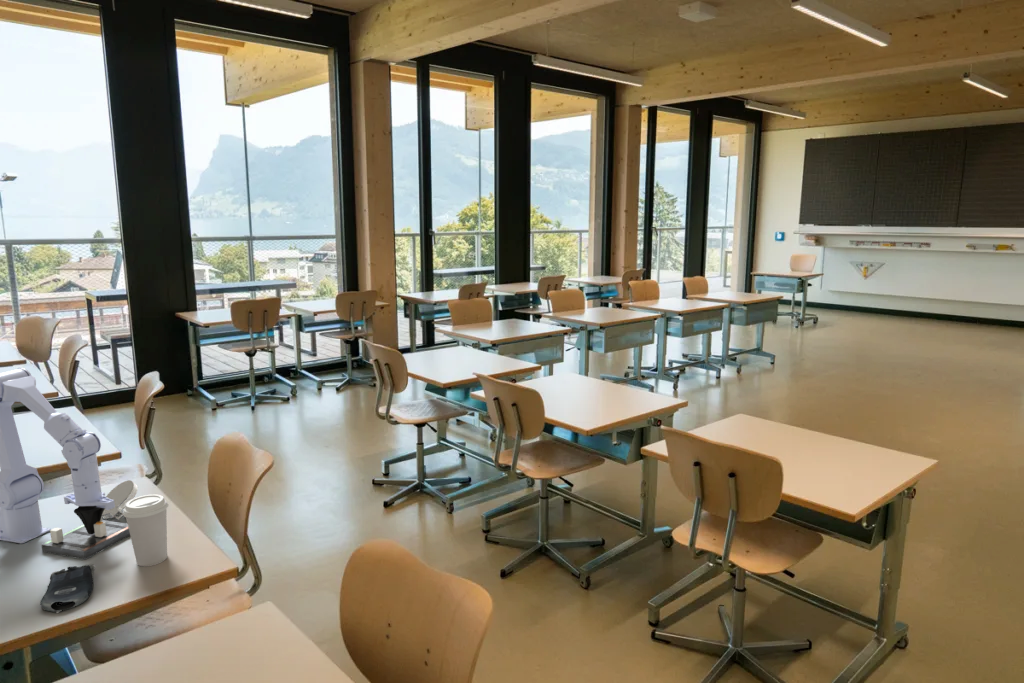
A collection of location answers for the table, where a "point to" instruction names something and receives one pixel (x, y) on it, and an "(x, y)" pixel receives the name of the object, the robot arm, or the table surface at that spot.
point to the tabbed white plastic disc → (120, 498)
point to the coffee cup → (148, 528)
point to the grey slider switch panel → (87, 541)
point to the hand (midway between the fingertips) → (93, 532)
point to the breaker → (56, 535)
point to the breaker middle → (100, 529)
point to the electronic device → (69, 587)
